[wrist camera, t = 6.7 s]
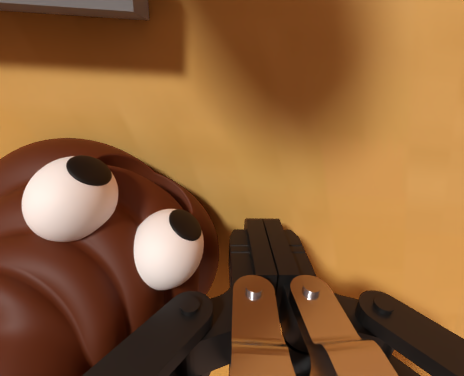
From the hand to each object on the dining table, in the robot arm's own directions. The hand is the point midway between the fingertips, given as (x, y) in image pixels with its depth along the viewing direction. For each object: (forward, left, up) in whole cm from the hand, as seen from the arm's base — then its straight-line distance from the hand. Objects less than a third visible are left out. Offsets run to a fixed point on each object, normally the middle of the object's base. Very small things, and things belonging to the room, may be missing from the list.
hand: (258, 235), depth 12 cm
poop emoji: (+7, 0, -1) cm, 7 cm away
